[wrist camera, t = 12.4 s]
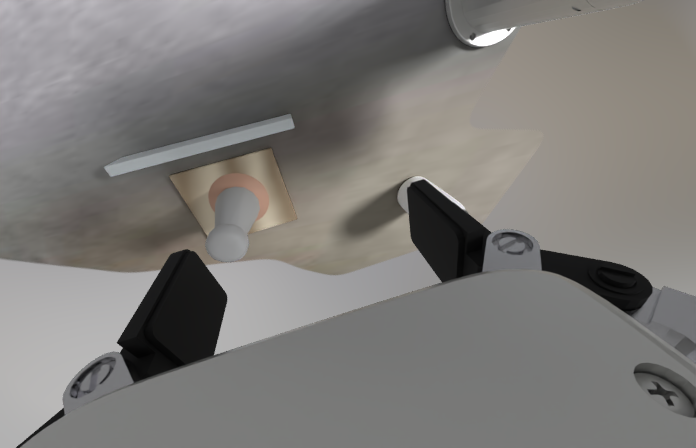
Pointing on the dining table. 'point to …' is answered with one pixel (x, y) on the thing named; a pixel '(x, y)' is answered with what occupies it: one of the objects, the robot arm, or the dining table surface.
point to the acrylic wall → (199, 145)
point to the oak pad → (240, 171)
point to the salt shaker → (232, 224)
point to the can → (403, 189)
